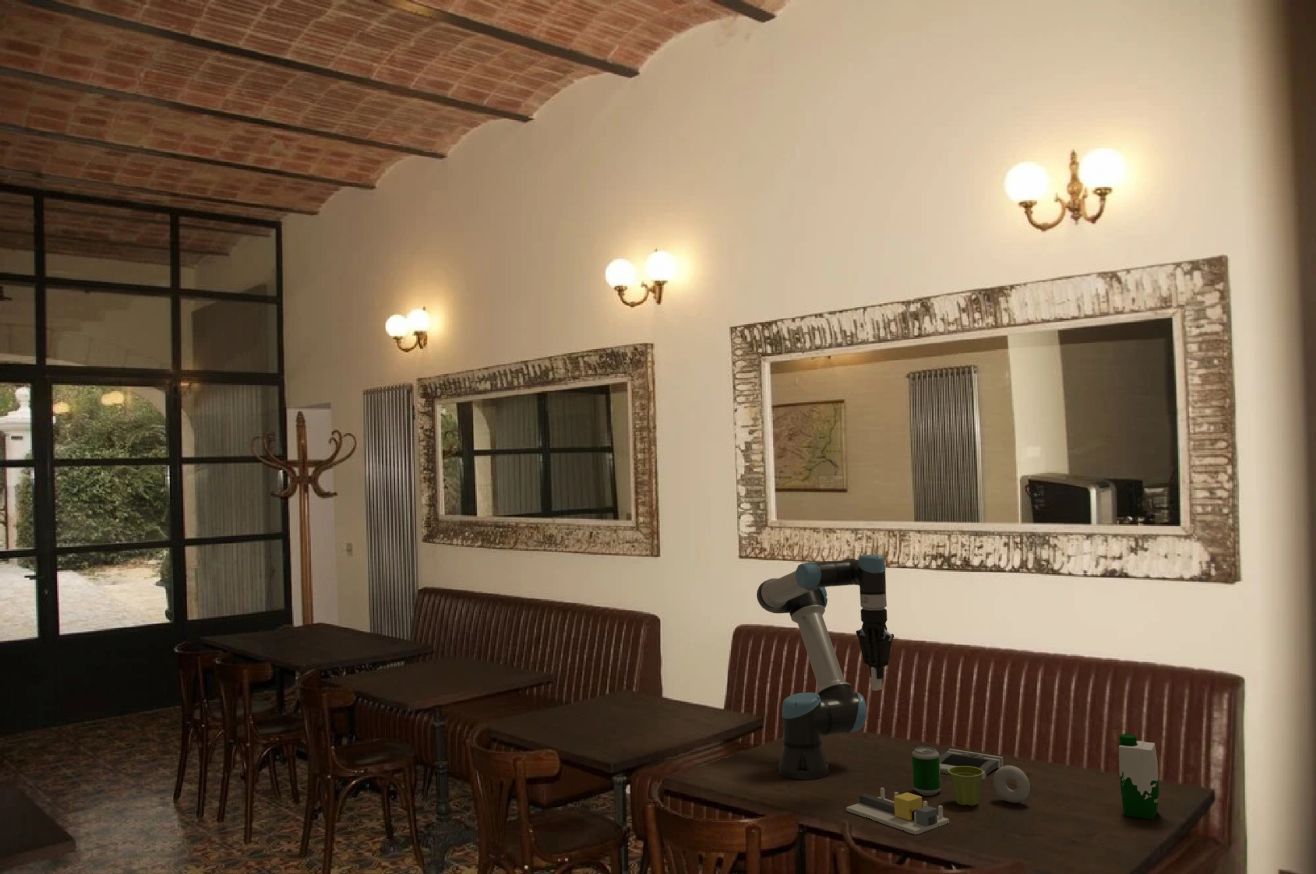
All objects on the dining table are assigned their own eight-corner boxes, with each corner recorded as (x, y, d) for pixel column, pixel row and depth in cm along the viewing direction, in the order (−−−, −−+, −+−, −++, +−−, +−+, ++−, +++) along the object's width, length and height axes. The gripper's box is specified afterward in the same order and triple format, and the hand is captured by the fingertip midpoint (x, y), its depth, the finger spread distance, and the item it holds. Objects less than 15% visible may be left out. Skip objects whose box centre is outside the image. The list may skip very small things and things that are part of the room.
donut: (1032, 804, 276) (1031, 767, 277) (1028, 807, 274) (1026, 770, 274) (997, 797, 283) (995, 761, 283) (992, 801, 280) (990, 764, 281)
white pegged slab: (846, 811, 276) (845, 793, 276) (879, 800, 284) (878, 784, 284) (915, 835, 257) (914, 816, 257) (949, 823, 264) (948, 805, 264)
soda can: (941, 796, 285) (940, 753, 286) (914, 796, 287) (912, 753, 287) (940, 788, 293) (938, 746, 293) (913, 787, 294) (911, 745, 294)
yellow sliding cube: (894, 815, 267) (893, 796, 268) (907, 811, 270) (907, 792, 271) (909, 820, 263) (908, 801, 264) (922, 816, 266) (921, 797, 267)
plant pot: (967, 810, 273) (965, 778, 274) (942, 801, 282) (940, 769, 282) (992, 804, 278) (991, 772, 278) (967, 795, 286) (965, 763, 286)
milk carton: (1124, 806, 272) (1120, 731, 273) (1161, 811, 268) (1157, 734, 268) (1119, 816, 265) (1115, 739, 266) (1158, 821, 260) (1154, 742, 261)
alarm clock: (1003, 757, 311) (981, 765, 299) (1003, 772, 311) (981, 782, 298) (950, 748, 322) (926, 756, 310) (950, 763, 322) (927, 772, 310)
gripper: (848, 607, 299) (851, 688, 299) (881, 611, 289) (885, 695, 288) (865, 604, 304) (869, 684, 303) (899, 608, 293) (903, 691, 292)
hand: (877, 689), depth 295 cm, fingers closed
